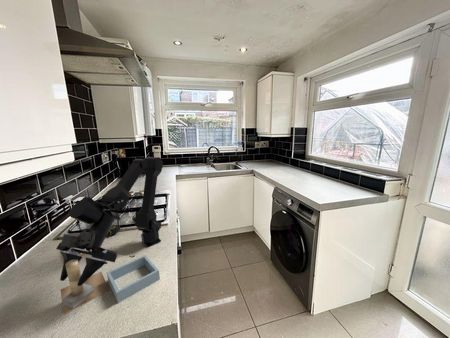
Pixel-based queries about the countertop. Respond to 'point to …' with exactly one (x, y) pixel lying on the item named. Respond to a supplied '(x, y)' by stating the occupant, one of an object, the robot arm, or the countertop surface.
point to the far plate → (98, 288)
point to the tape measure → (114, 230)
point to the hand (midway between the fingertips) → (70, 283)
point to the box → (136, 285)
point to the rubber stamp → (75, 286)
